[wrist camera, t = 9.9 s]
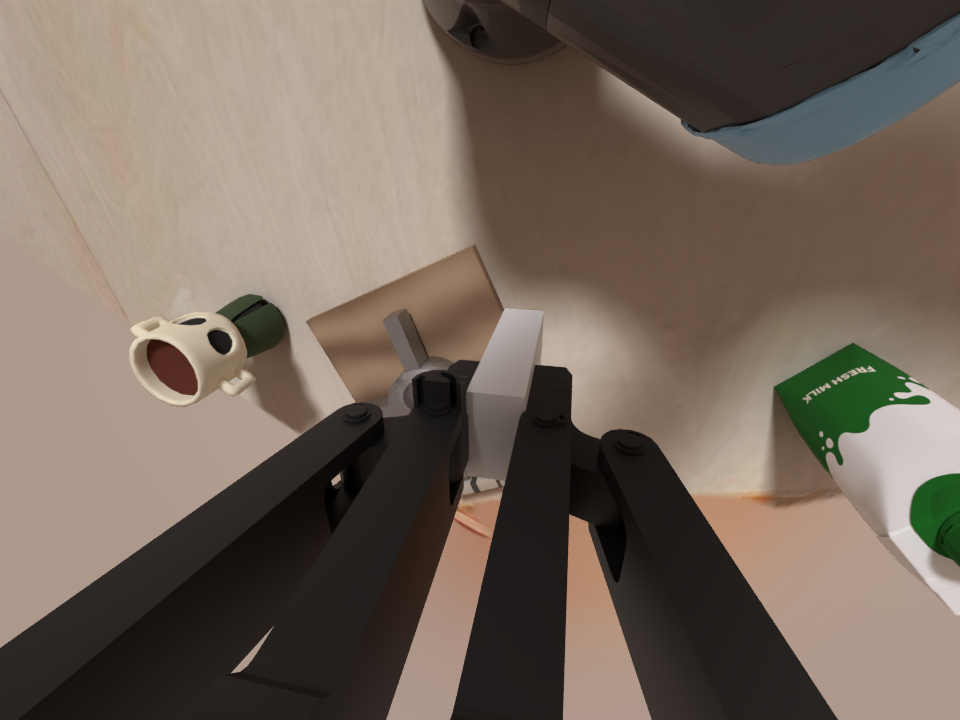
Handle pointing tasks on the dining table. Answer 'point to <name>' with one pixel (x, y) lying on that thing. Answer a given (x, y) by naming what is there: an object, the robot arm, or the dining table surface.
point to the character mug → (203, 350)
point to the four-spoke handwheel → (407, 365)
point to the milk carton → (887, 457)
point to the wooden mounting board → (436, 318)
